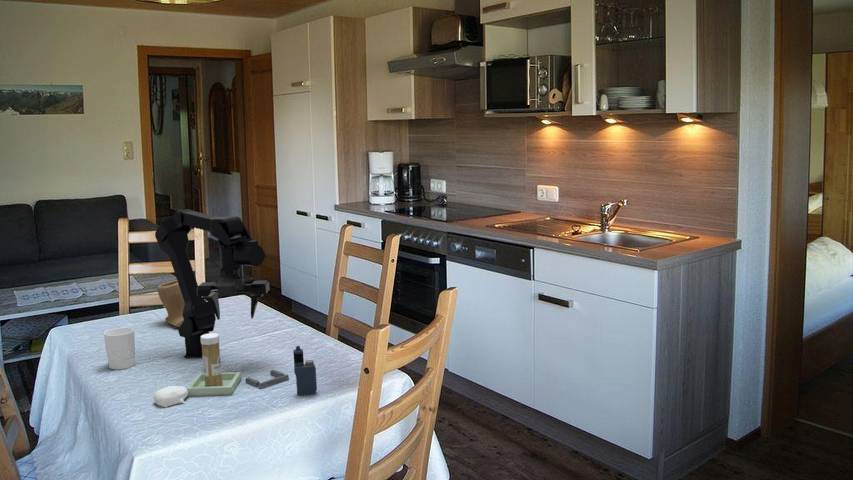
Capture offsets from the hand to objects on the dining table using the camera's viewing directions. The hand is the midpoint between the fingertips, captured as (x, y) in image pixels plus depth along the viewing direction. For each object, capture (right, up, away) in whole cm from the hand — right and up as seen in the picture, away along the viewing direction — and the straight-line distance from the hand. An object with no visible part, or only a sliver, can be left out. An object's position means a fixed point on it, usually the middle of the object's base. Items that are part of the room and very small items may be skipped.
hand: (235, 318), depth 203 cm
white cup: (-33, -14, +4) cm, 36 cm away
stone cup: (-30, -7, +44) cm, 54 cm away
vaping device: (+23, -16, -21) cm, 35 cm away
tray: (-1, -16, -16) cm, 22 cm away
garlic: (-9, -18, -24) cm, 31 cm away
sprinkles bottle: (-1, -16, -16) cm, 22 cm away
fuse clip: (+11, -15, -11) cm, 21 cm away
